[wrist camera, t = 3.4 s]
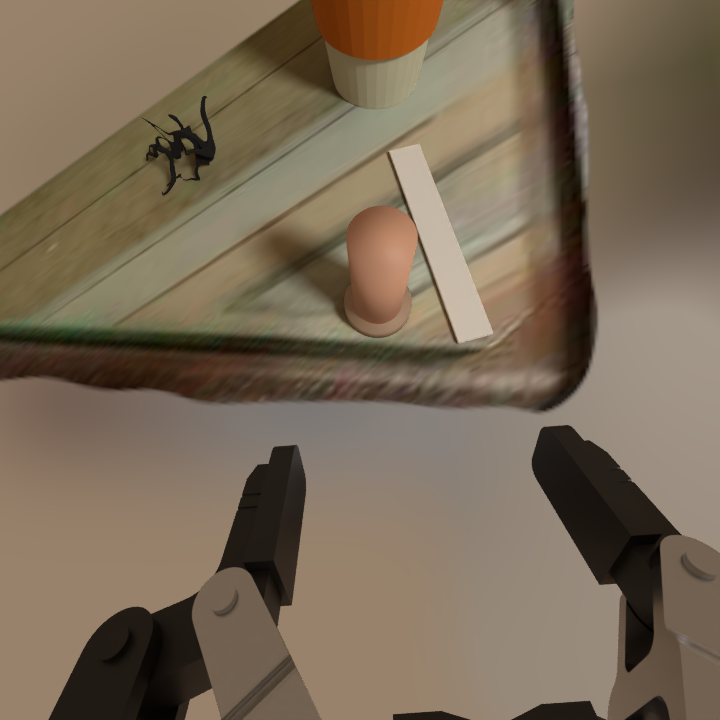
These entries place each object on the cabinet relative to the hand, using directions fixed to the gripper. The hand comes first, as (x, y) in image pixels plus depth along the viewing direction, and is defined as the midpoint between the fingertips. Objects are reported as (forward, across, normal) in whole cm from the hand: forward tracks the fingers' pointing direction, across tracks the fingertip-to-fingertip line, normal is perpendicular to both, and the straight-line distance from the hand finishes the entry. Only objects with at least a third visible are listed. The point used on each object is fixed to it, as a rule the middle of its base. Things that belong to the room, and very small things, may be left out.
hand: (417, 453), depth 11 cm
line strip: (+23, -6, -2) cm, 24 cm away
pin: (+18, 0, +2) cm, 19 cm away
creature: (+30, +17, -9) cm, 36 cm away
